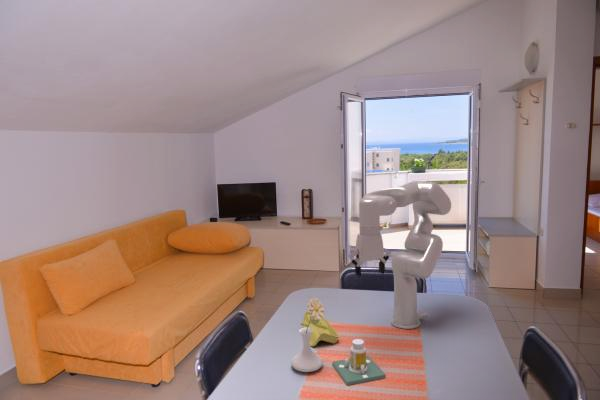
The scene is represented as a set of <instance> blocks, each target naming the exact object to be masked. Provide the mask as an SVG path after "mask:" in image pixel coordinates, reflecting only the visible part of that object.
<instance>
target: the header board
mask: <svg viewBox="0 0 600 400" xmlns="http://www.w3.org/2000/svg"><path fill="white" fill-rule="evenodd" d="M331 365H332V366H333V368H334V370H335V371H336V372H337V373H338V375H339V377H340V378H341V379H342V380H343V382H344V384H346V386H351V385H352V386H353V385H357V384H361V383H362V384H363V383H367V382H373V381H376V380H377V381H378V380H381V379H386V378H387V377H386V373H385V372H384V371H383V370H382V369H381V368H380V366H378V365H377V363H376V362H375V361H374V360H373V359H372V358H371V357H370V356H369V355H368V354H366V368H365V369H364V365H363V364H362V365H361V371H355V370H353V369H352V368H351V357H350V358H348V357H346V358H345V359H340V360H336V361H332V362H331Z"/></svg>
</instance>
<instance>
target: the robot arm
mask: <svg viewBox="0 0 600 400" xmlns="http://www.w3.org/2000/svg"><path fill="white" fill-rule="evenodd" d="M358 203H359V204H358V210H359V211H358V213H359V215H358V216H359V220H358V221H359V233H357V237H356V242H355V250H354V251H352V252H351V253H350V254H348V259H349V260H350V262H351V264H352V265H354V267H355V268H354V269H355V270H354V271H355V272H354V273H355V275H356V276H358V277H359V278H361V277H362V267H361V264H362V263H363V262H369V261H370V262H371V261H379V262H378V273H381V274H382V275H384V274H385V271H386V263H387V261H388V260H389V259H390V256H391V253H392V250H389V249H387V248H385V247H384V242H383V241H384V240H383V237H382V236H383V235H382V233H381V231H383V230H384V228H383V226H381V225H380V218H381V217H382V216H383V217H384V216H385V217H386V216H391V215H392V214H394V213H395V212H396V210H397V208H404V207H407V206H409V205H411V204H412V209H413V216H414V218H413V219H414V222H413V224H412V227H411V228H410V230H409V232H408V234H407V236H406V238H405V240H404V248H405V251H402V250H401V251H397V252H395V253H394V254H393V256H392V257H391V268H392V274H393V287H394V288H393V295H394V296H393V298H394V299H393V303H394V304H393V306H394V307H393V311H394V313H393V314H394V316H392V317H391V318H390V324H391V325H392V326H393V327H396V328H399V329H402V330H411V329H417V328H418V327H420V326H421V323H422V322H421V318H422V319H423V318H428V313H427V312H422V311H418V307H417V306H418V283H417V281H416V278H419V279H428V278H429V277H431V275H432V274H433V272H434V270H435V267H436V265H437V263H438V262H439V259H440V256H441V254H442V253H443V252H442V251H443V246H444V245H443V240H442V238H441V236H439V235H437V234H434V233H432V232H433V229H434V225H433V222H432V219H431V218H430V215H438V216H439V215H440V216H445V215H448V214H449V213H450V211H451V210H452V201H451V199H450V197H449V195H448V194H447V193H446V192H445V190H444V189H443V188H442V186H440V184H438V183H437V182H435V181H424V180H414V181H411V182H408V183H406V184H403V185H399V186H396V187H390V188H384V189H378V190H375V191H372V192H368V193H365V195H364V196H363V197H362V198H361V199H360V200H359V202H358ZM384 254H385V255H384ZM354 257H355V258H354Z"/></svg>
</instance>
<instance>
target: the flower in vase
mask: <svg viewBox="0 0 600 400" xmlns="http://www.w3.org/2000/svg"><path fill="white" fill-rule="evenodd" d="M325 310H326V309H325V306H324V305H323V303H322V301H320V299H318V298H316V297H315V298H311V299H310V300H309V302H308V303H307V311H309V315H311V317H312V319H311V318H310V321H311V322H312V323H313V324H317V323H318V322H319V321H320V320H321V319H322V317H324V318H325V314H326V313H325ZM321 316H322V317H321ZM310 321H309V324H310ZM309 324H308V325H306V324H303V322H301V323H300V325H301V326H302V327H303V326H307V327H305V328H299V330H298V332H299V333H300V335H301V338H302V343H303V349H302V350H301V351H300V352H298V353H297V354H296V355H295V356H294V357H293V358H292V360H291V362H290V363H291V367H292V368H293V369H295V371H298V372H303V373H310V372H315V371H318V370H319V369H320V368H322V367H323V365H324V360H323V358H322V357H321V355H319V354H318V353H316V352H315V351H313V350H312V349H311V346H310V336H311V333H312V332H313V329H312V328H308V326H309Z"/></svg>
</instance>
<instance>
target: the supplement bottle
mask: <svg viewBox="0 0 600 400" xmlns="http://www.w3.org/2000/svg"><path fill="white" fill-rule="evenodd" d="M349 350H350V351H349V352H350V358H351V368H352V369H353V370H355V371H361V365H362V364H363V365H364V369H365V368H366V355H367V348H366V347H365V342H364V340H363V339H362V338H361V339H359V338H356V339H353V340H352V344H351V347H350V349H349Z"/></svg>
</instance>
